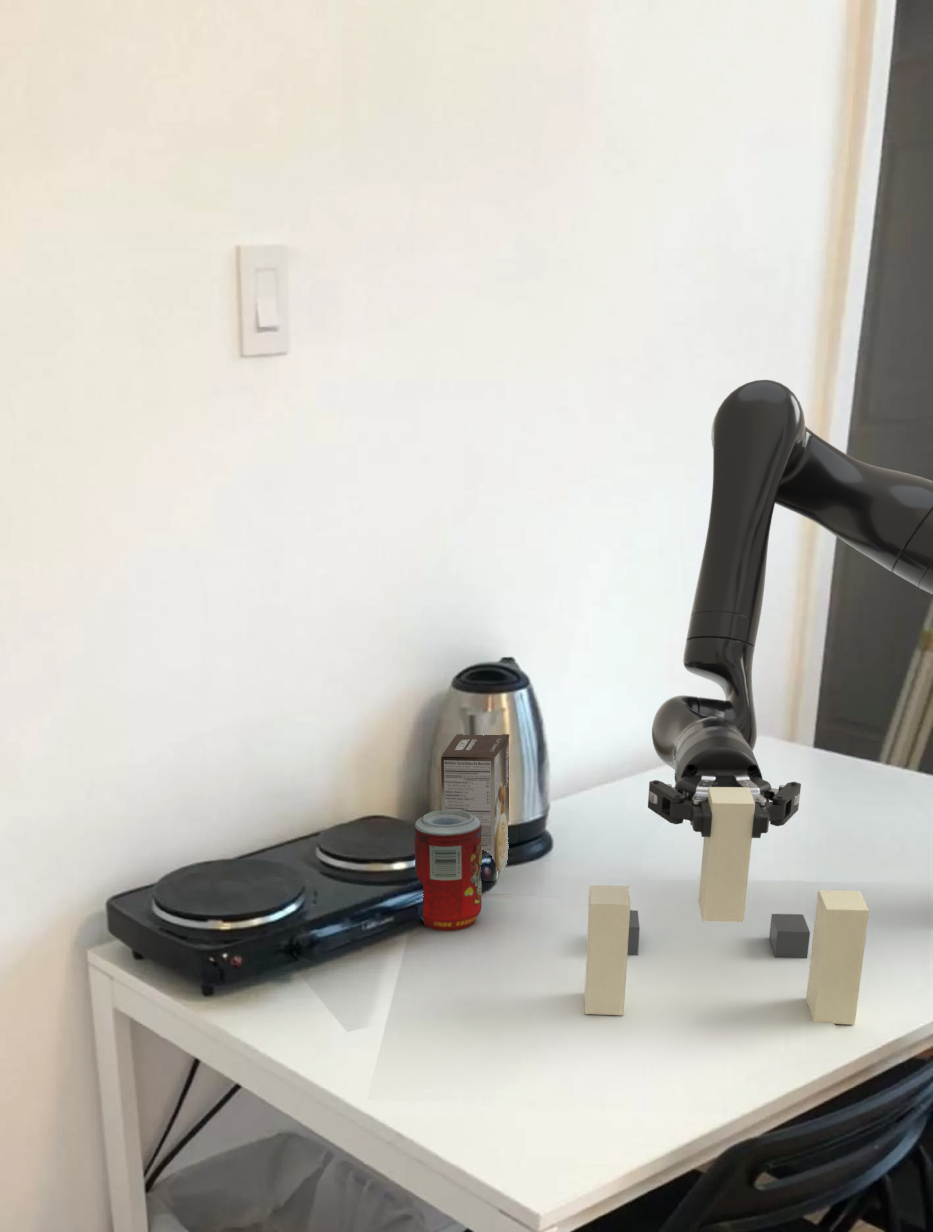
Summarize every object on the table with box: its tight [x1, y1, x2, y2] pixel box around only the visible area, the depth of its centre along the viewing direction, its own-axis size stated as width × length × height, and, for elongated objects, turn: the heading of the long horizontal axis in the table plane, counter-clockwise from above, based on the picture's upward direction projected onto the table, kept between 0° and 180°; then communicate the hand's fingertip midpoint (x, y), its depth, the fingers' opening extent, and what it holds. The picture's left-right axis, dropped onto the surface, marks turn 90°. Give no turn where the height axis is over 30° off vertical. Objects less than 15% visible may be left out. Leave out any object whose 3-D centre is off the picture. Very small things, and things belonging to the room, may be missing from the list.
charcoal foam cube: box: [768, 913, 811, 959], centre depth 148 cm, size 3×5×4 cm, turn 167°
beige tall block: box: [805, 889, 870, 1026], centre depth 134 cm, size 4×5×11 cm
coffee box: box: [440, 733, 510, 882], centre depth 173 cm, size 9×6×16 cm
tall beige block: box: [698, 787, 755, 923], centre depth 133 cm, size 4×5×11 cm
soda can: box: [413, 809, 483, 932], centre depth 160 cm, size 7×7×12 cm
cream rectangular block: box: [584, 884, 631, 1016], centre depth 139 cm, size 4×5×11 cm
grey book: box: [627, 909, 641, 956], centre depth 152 cm, size 3×5×4 cm, turn 167°
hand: (732, 826), depth 129 cm, fingers closed on tall beige block, 3 cm apart
